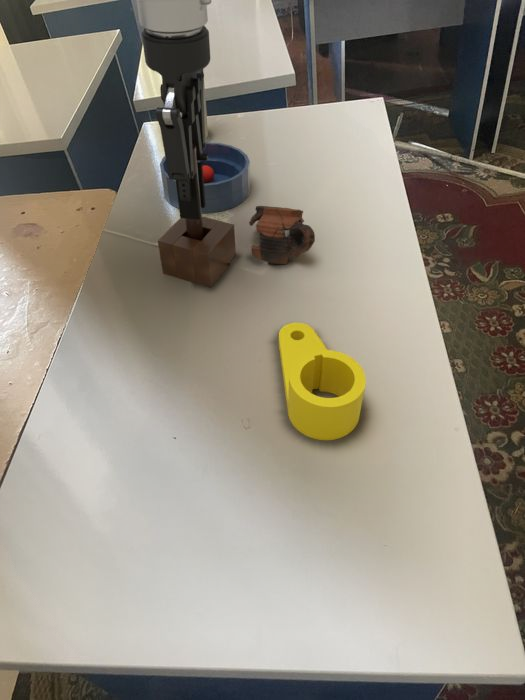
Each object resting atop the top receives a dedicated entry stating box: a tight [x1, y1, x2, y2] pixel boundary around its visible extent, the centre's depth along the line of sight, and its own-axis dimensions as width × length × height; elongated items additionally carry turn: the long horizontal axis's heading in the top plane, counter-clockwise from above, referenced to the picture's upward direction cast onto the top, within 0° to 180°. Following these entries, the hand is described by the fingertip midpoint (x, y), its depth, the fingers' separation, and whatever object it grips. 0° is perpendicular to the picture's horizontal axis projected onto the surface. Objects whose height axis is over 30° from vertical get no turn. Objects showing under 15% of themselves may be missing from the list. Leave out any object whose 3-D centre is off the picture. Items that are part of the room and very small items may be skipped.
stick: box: [185, 144, 204, 241], centre depth 80 cm, size 2×2×18 cm
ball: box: [203, 165, 214, 183], centre depth 102 cm, size 3×3×3 cm
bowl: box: [159, 141, 251, 214], centre depth 99 cm, size 15×15×6 cm
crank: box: [278, 322, 367, 441], centre depth 68 cm, size 18×8×6 cm, turn 14°
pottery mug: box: [248, 205, 316, 265], centre depth 88 cm, size 12×10×8 cm
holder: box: [157, 215, 237, 289], centre depth 85 cm, size 8×8×6 cm
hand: (193, 211), depth 80 cm, fingers closed on stick, 2 cm apart
